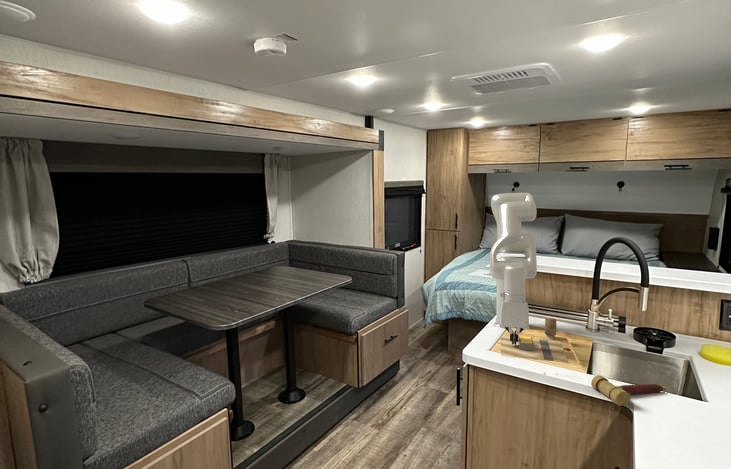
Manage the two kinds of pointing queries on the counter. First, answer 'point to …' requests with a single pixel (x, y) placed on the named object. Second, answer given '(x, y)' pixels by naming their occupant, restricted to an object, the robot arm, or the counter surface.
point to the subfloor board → (541, 350)
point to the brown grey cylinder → (550, 328)
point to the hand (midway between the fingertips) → (514, 343)
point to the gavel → (622, 390)
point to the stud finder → (525, 343)
